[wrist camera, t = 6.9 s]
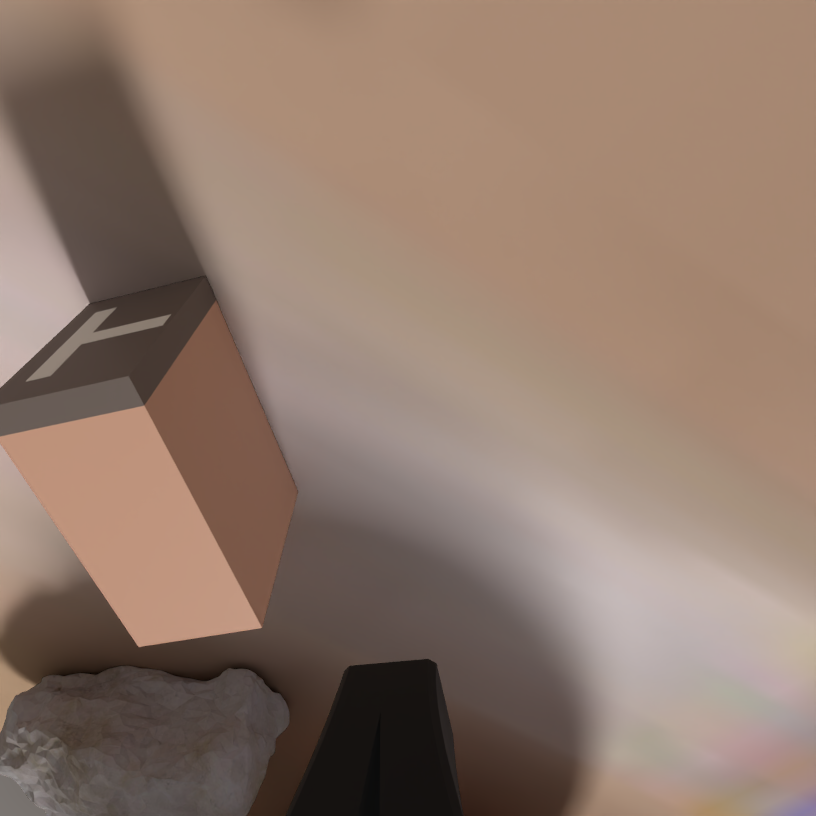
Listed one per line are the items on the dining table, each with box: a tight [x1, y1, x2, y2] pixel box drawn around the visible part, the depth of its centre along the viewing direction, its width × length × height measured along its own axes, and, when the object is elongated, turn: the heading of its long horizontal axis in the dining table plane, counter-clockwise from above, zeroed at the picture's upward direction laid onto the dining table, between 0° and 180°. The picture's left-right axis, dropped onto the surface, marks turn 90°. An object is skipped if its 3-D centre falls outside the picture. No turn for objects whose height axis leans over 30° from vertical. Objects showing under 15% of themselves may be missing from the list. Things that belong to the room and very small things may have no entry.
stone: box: [0, 666, 289, 816], centre depth 25 cm, size 8×10×6 cm
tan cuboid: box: [0, 276, 298, 647], centre depth 18 cm, size 3×5×7 cm
